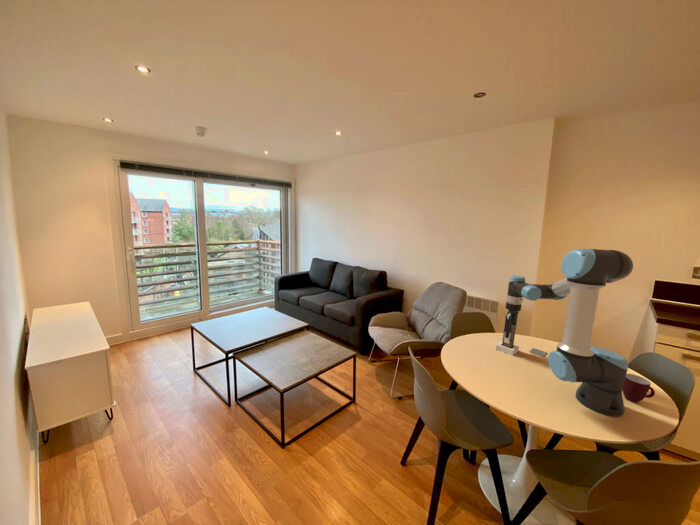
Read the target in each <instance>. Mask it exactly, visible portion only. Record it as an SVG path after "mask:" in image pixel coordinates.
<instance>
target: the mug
mask: <svg viewBox="0 0 700 525" xmlns="http://www.w3.org/2000/svg"><path fill="white" fill-rule="evenodd" d="M649 391H650V393H649ZM648 393H649V394H648ZM622 395H623V396H624V398H625V399H626V400H627V401H629V402H631V403H634V402H635V403H634V404H638V403H640V402H642V401H643V400H644V399H646V398H648V399H649V398H653V397H654V396H655V395H656V391H655V390H654V388H653V387H651V382H650V381H649V380H648V379H646V378H644V377H641V376H639V375H636V374H634V373H627V374H626V378H625V382H624V386H623V390H622Z"/></svg>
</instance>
